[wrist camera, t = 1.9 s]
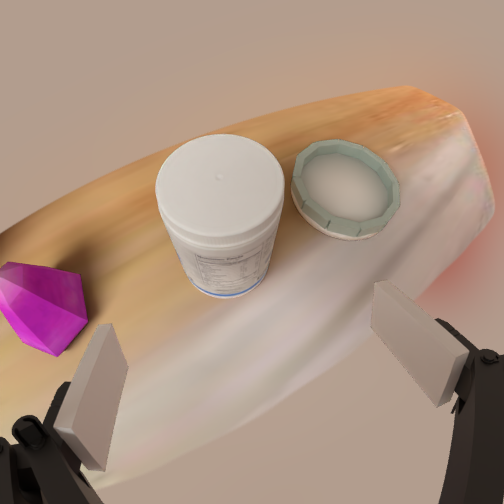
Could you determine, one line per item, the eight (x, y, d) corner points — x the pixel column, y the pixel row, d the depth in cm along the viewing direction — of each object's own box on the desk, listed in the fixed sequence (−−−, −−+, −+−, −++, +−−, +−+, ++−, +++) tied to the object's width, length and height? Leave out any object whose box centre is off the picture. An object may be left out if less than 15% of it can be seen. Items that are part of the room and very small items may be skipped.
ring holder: (281, 225, 37) (284, 211, 34) (299, 144, 43) (302, 129, 40) (390, 252, 36) (400, 241, 33) (389, 169, 42) (397, 156, 39)
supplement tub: (179, 231, 36) (150, 142, 23) (257, 216, 37) (266, 122, 24) (191, 310, 32) (157, 249, 19) (279, 292, 33) (304, 221, 20)
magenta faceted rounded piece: (75, 254, 34) (10, 183, 21) (111, 327, 31) (33, 279, 17) (14, 300, 31) (-62, 251, 17) (42, 375, 27) (-49, 352, 14)
